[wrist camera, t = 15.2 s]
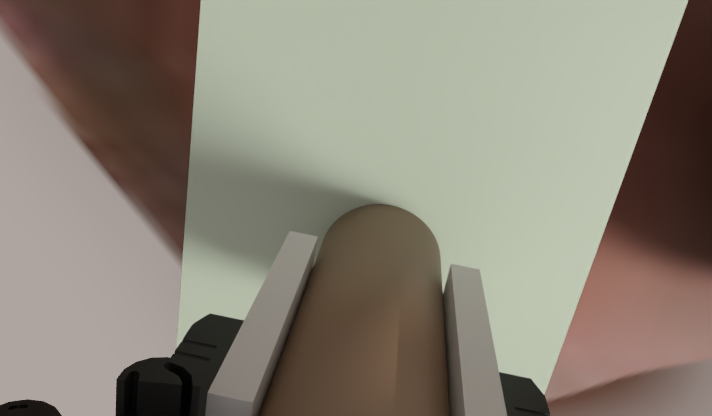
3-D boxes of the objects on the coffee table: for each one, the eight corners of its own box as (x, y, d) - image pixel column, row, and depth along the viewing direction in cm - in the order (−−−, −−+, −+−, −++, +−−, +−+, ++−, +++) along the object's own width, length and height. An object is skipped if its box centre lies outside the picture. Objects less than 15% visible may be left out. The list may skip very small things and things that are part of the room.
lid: (724, -193, 15) (1391, -551, 5) (467, 546, 25) (499, 953, 14) (246, -277, 15) (-115, -782, 5) (182, 484, 25) (17, 838, 15)
